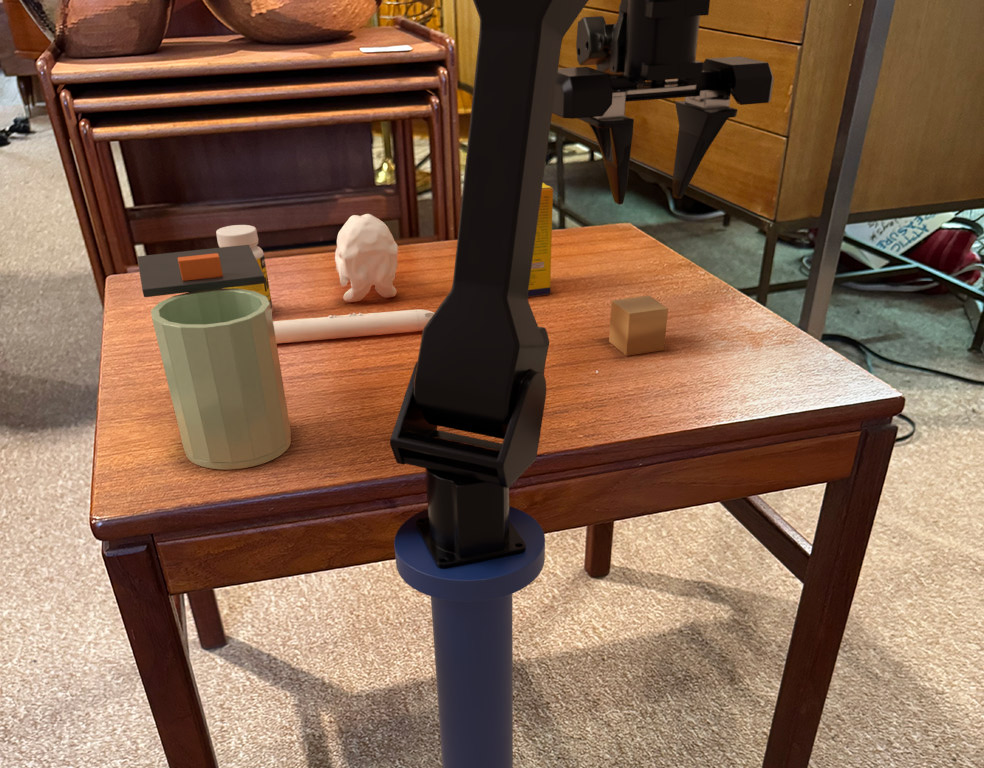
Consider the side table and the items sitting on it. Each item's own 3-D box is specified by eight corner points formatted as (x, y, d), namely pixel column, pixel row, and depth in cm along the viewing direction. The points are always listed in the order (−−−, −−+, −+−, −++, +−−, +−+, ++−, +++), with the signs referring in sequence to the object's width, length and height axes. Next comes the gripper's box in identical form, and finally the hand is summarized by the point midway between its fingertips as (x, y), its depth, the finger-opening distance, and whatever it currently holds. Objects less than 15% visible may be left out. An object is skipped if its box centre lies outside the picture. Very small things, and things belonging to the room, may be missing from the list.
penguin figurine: (337, 221, 94) (316, 206, 104) (348, 309, 99) (327, 287, 108) (398, 215, 96) (372, 200, 105) (406, 302, 100) (380, 280, 110)
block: (664, 350, 89) (668, 308, 87) (626, 356, 88) (629, 313, 86) (645, 336, 92) (649, 295, 90) (608, 341, 91) (611, 300, 89)
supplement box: (483, 284, 105) (481, 178, 99) (533, 279, 107) (534, 173, 100) (499, 301, 101) (498, 191, 94) (551, 295, 102) (554, 186, 96)
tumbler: (299, 459, 73) (277, 317, 66) (189, 477, 71) (154, 333, 64) (282, 416, 79) (260, 282, 72) (181, 431, 77) (148, 296, 70)
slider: (265, 283, 72) (260, 254, 70) (144, 297, 69) (136, 268, 68) (250, 251, 78) (245, 225, 77) (138, 263, 76) (132, 236, 75)
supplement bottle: (278, 317, 98) (265, 232, 93) (234, 324, 97) (217, 238, 91) (266, 303, 102) (253, 221, 96) (223, 310, 100) (207, 227, 95)
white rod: (441, 325, 96) (440, 301, 94) (444, 332, 94) (443, 308, 93) (263, 340, 93) (259, 316, 92) (263, 348, 91) (259, 324, 90)
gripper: (720, -28, 81) (698, 171, 90) (517, -19, 76) (517, 190, 86) (792, -21, 72) (759, 198, 82) (569, -10, 68) (562, 219, 78)
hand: (648, 200), depth 82 cm, fingers open, 5 cm apart
